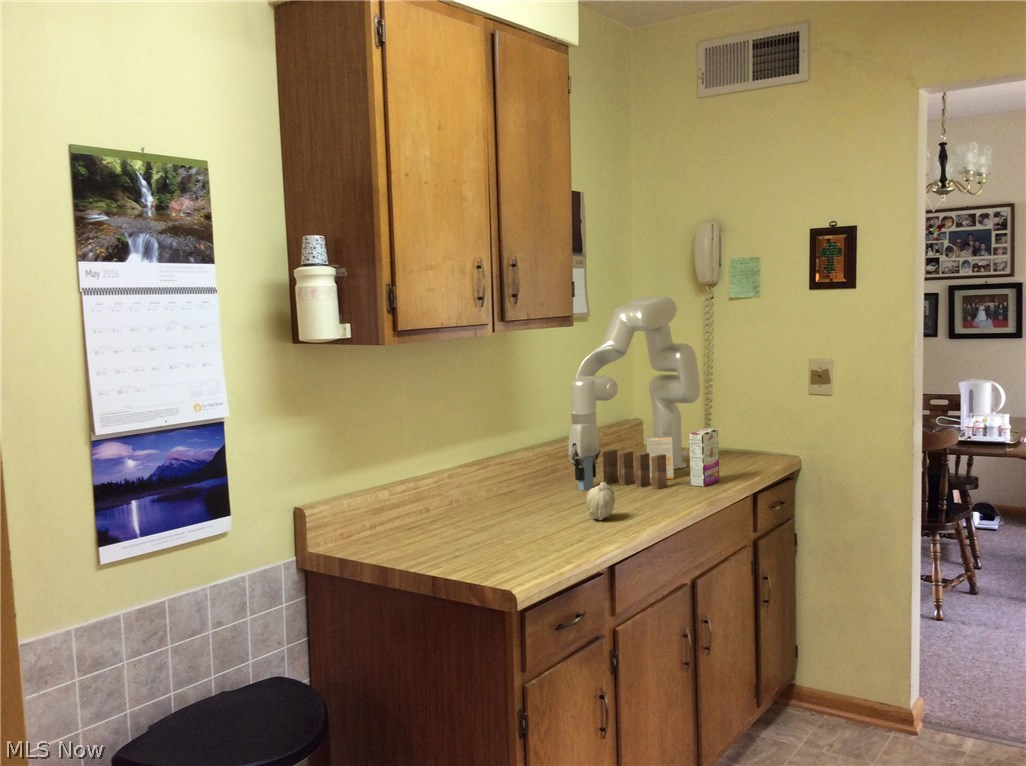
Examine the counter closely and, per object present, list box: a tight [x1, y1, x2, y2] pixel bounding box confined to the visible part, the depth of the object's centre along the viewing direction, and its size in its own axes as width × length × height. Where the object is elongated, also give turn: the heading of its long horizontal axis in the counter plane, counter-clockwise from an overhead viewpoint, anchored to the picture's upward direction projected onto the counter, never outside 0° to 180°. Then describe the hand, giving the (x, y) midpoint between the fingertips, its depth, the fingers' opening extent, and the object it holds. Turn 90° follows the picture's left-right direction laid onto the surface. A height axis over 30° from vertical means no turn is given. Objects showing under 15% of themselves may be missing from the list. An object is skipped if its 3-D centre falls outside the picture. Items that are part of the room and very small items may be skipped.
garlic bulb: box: [585, 481, 616, 521], centre depth 233 cm, size 10×8×10 cm
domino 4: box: [634, 451, 651, 488], centre depth 274 cm, size 2×5×10 cm, turn 138°
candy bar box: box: [688, 427, 720, 488], centre depth 274 cm, size 11×5×16 cm, turn 143°
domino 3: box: [617, 450, 635, 486], centre depth 278 cm, size 2×5×10 cm, turn 138°
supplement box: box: [645, 437, 675, 480], centre depth 285 cm, size 8×5×13 cm, turn 84°
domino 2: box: [602, 449, 619, 484], centre depth 282 cm, size 2×5×10 cm, turn 138°
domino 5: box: [651, 454, 668, 490], centre depth 270 cm, size 2×5×10 cm, turn 138°
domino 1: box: [577, 456, 595, 491], centre depth 272 cm, size 2×5×10 cm, turn 138°
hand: (585, 478), depth 272 cm, fingers closed on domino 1, 4 cm apart
